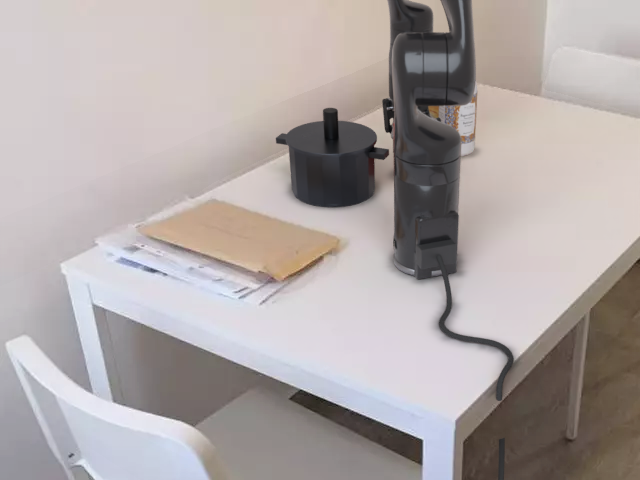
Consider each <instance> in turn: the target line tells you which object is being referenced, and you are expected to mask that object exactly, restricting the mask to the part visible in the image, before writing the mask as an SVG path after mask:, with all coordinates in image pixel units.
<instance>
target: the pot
mask: <svg viewBox="0 0 640 480" xmlns="http://www.w3.org/2000/svg"><path fill="white" fill-rule="evenodd" d="M286 135H287V133H285V132H284V133H283V132H282V133H280V134H278V135H277V136H276V137H275V144H277V145H285V146H288V145H287V143H286ZM288 155H289V157H288V158H289V168H290V169H289V170H290V171H289V172H290V183H291V192H292V194H293V196H294V197H295V198H296V199H297V200H298V201H300V202H302V203H304V204H307V205H309V206H310V205H311V206H313V207H314V206H315V207H319V208H320V207H321V208H345V207H349V206H355V205H358V204H362V203H364V202H365V201H368V200H369V199H370V198H372V197H373V195H374V194H375V191H376V170H375V169H376V167H375V164H376V163H375V160H381V161H385V160H386V159H387V158H388V157H389V156H390V149H389V148H383V147H377V146H375V145H374V146H373V147H372V148H370V149H368V150H366V151H364V152H361V153H358V154H354V155H349V156H341V157H319V156H311V155H306V154H302V153H299V152H297V151H295V150H293V149H291V148H290V147H289V146H288Z"/></svg>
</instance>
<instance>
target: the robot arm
mask: <svg viewBox="0 0 640 480" xmlns="http://www.w3.org/2000/svg"><path fill="white" fill-rule="evenodd" d="M386 1H387V6H388V13H389V50H388V97H385V98H383V99H382V101H381V102H382V114H383V125H384V131H385V132H386V134H388V133H389V134H390V138H391V140H393V123H394V125H395V128H394V150H393V149H392V155H393V156H392V157H393V201H394V202H393V215H394V216H393V242H392V247H393V248H392V249H393V250H394V251H393V264H394V266H395V267H396V268H397V269H398V270H399V271H401V272H402V273H405V274H407V275H410V276H413V277H415V278H416V279H417V280H422V279H428V278H433V277H439V276H442V280H443V284H444V289H445V297H446V307H445V310H444V312H443V313H442V315H441V316H440V318H439V320H438V326H439V329H440V330H441V332H442V333H444V335H446V336H447V337H450V338H452V339H455V340H458V341H463V342H470V343H475V344H482V345H488V346H492V347H495V348H498V349H499V350H501V351H502V352H503V353H504V354H505V355H506V356H507V362H506V364H504V366H503V368H502V370H501V371H500V373H499V376H498V379H497V382H496V389H495V400H496V401H498V402H501V401H502V400H503V387H504V381H505V379H506V377H507V374H508V372H509V371H510V370H511V368H512V367H513V364H514V361H515V357H514V353H513V352H512V350H511V349H510V348H509V347H508V346H506V345H505V344H503V343H502V342H499V341H496V340H493V339H489V338H483V337H478V336H472V335H471V336H470V335H465V334H459V333H456V332H454V331H451V330H450V329H449V328H447V327H446V325H445V321H446V320H447V318H448V317H449V315H450V313H451V310H452V306H453V298H452V296H453V295H452V288H451V284H450V279H449V275H448V274H454V273H457V272H458V249H459V247H458V245H459V223H460V215H459V211H460V208H459V207H460V206H459V205H460V186H461V185H460V182H461V163H462V156H461V136H460V134H459V132H458V131H457V130H456V129H455V128H453V127H452V126H450V125H448V124H445V123H443V122H441V119H440V118H439V117H438V118H433V117H432V116H430V112H429V108H428V106H444V105H445V106H463V105H467V104H468V103H469V102H470V101H471V100H472V98H473V95H474V91H475V83H477V64H476V63H477V62H476V45H475V44H476V43H475V30H474V13H473V0H439V1H440V3H441V5H442V8H443V12H444V14H445V17H446V22H447V26H448V32H447V31H446V32H440V31H435V32H434V12H433V9H432V8H431V7H430V6H429V5H427V4H424V3H422V2H421V3H420V2H417V1H413V0H386ZM391 119H392V123H391ZM505 444H506V438H505V437H501V438H499V439H498V469H497V470H498V473H497V480H505V456H506V455H505V453H506V452H505V450H506V449H505V448H506V445H505Z"/></svg>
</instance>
